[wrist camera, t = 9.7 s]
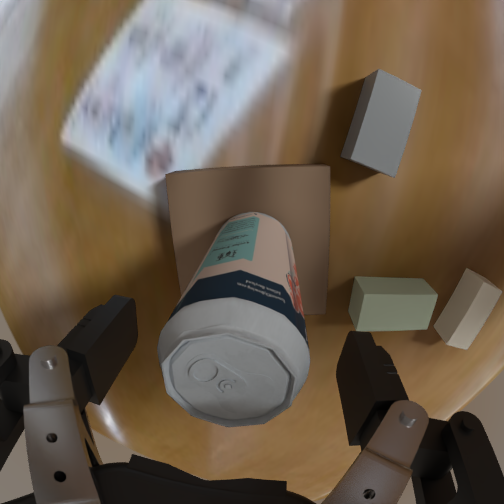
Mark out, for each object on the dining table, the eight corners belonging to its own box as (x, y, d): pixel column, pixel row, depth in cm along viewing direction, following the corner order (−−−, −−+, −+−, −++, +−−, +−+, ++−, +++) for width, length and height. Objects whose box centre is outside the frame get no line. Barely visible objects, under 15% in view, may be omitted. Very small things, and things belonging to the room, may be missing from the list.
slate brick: (364, 77, 17) (378, 68, 14) (402, 95, 17) (421, 90, 14) (339, 156, 19) (350, 159, 16) (378, 172, 19) (394, 177, 16)
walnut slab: (324, 164, 19) (330, 166, 17) (321, 300, 22) (325, 314, 21) (174, 171, 20) (165, 174, 18) (191, 302, 23) (184, 315, 21)
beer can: (258, 294, 20) (242, 449, 9) (201, 251, 20) (123, 382, 8) (307, 243, 19) (347, 379, 8) (247, 194, 18) (206, 281, 7)
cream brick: (465, 266, 21) (483, 281, 18) (484, 276, 21) (502, 291, 18) (432, 325, 23) (446, 344, 20) (452, 331, 23) (466, 350, 20)
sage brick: (421, 277, 22) (438, 294, 19) (413, 309, 23) (427, 329, 20) (354, 275, 22) (364, 294, 19) (347, 309, 23) (356, 331, 20)
